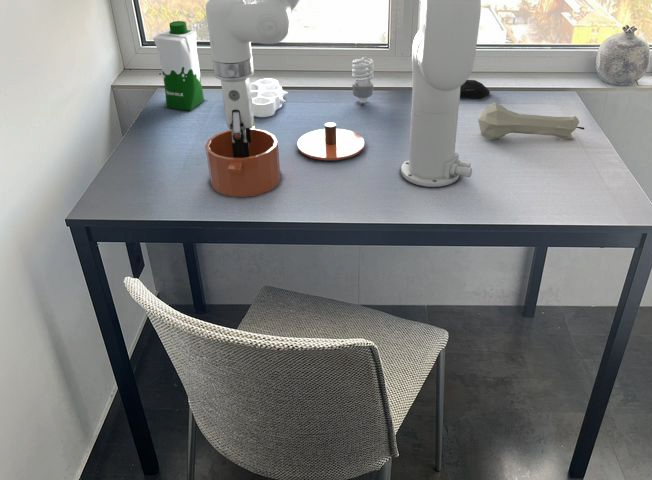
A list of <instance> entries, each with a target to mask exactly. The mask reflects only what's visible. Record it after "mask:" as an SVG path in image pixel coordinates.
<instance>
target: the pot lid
mask: <svg viewBox="0 0 652 480" xmlns="http://www.w3.org/2000/svg"><path fill="white" fill-rule="evenodd" d="M296 147H297V150H298V151H299V152H300V153H301V154H302V155H304V156H306V157H308V158H310V159H314V160H320V161H340V160H344V159H350V158H353V157H354V156H356V155H359V154H360V153H361V152H362V151H363V150H364V148H365V140H364V138H363V136H361V135H360V134H358V133H356V132H354V131H352V130H349V129H344V128H337V124H336V123H335V122H326V123H324V128H319V129H315V130H311V131H309V132H306V133H305V134H303V135H302V136H300V137H299V138H298V140H297V143H296Z"/></svg>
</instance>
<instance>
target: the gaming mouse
mask: <svg viewBox="0 0 652 480" xmlns="http://www.w3.org/2000/svg"><path fill="white" fill-rule="evenodd" d="M490 94H491V91H490V90H489V89H488V88H487V87H486V86H485V85H484V84H483V83H482V82H480V81H477V80H476V79H467V80H466V82H465V83H464V84H463V85H461V86H460V99H468V100H481V99H484V98H486V97H489V96H490Z"/></svg>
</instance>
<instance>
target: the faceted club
mask: <svg viewBox="0 0 652 480" xmlns="http://www.w3.org/2000/svg"><path fill="white" fill-rule="evenodd" d="M579 124H580V120H579V118H578V117H577V116H576V115H573V116H549V115H540V114H527V113H525V114H524V113H518V112H515V111H512V110H509V109H508V108H506V107H505V106H503V105H502V104H499V103H497V102H494V103H492V104H491V105H488V107H487V106H486V107H485V108H484V109H483V110H482V112H481V114H480V116H479V118H478V126H479V130H480V133H481V135H482V136H483V137H485V138H486V139H487V140H489V141H494V140H498V139H501V138H502V137H504V136H506V135H508V134H522V135H523V134H524V135H538V136H551V137H552V136H553V137H556V138H561V139H565V140H569V141H570V140H572V139H573V135H572V133H573V132H575V131H576V129H580V130H585V127H584V126H583V127H582V126H579Z"/></svg>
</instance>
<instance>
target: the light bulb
mask: <svg viewBox="0 0 652 480" xmlns="http://www.w3.org/2000/svg"><path fill="white" fill-rule="evenodd" d="M351 62H352V65H351V73H352V74H351V76H352V78H354V79H355V81H353V83H352V95H353V96H354V97H356V98H357V101H358V102H359V103H361V104H365V103H366V102H368V100H369V98H370V97H372V96H373V94H374V83H373V82H372V81H371V80H372V79H373V78H374V73H375V69H374V68H375V66H374V60H373V59H372V58H369V57H367V56H362V57H361V58H357V59H353V60H352V61H351Z"/></svg>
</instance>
